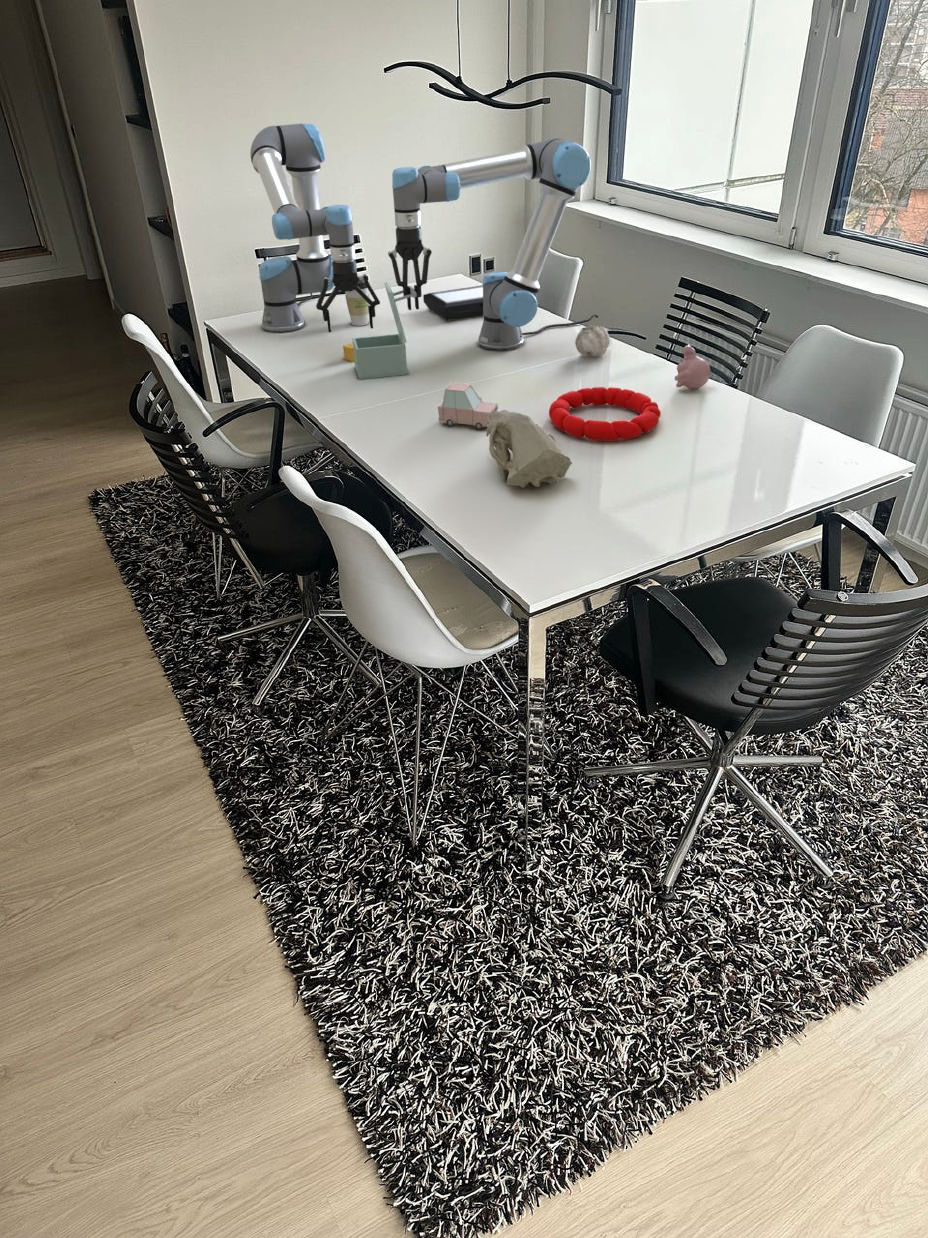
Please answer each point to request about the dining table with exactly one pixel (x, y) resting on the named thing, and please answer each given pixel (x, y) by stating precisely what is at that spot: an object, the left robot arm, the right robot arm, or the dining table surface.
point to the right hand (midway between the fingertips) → (413, 308)
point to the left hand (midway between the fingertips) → (350, 329)
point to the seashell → (592, 340)
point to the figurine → (692, 370)
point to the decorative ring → (604, 428)
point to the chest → (380, 356)
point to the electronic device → (456, 303)
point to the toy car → (465, 406)
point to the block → (349, 352)
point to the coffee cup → (358, 305)
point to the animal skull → (525, 450)
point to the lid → (394, 307)
